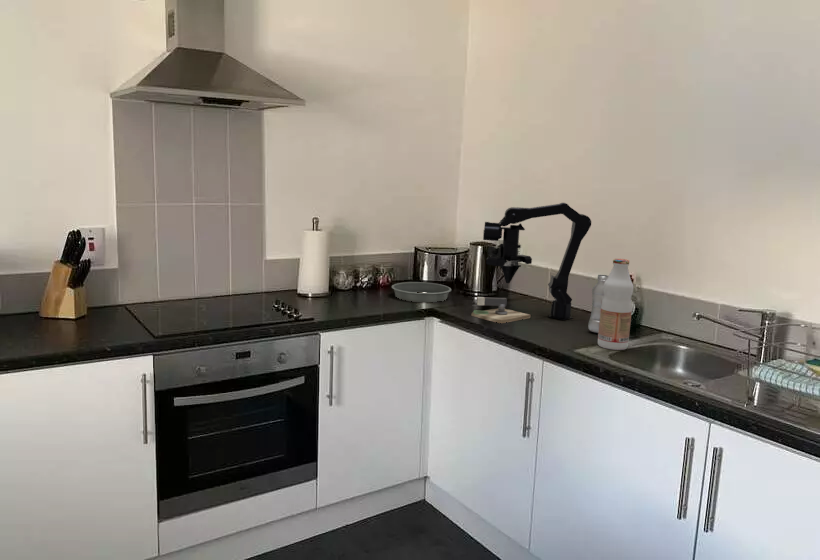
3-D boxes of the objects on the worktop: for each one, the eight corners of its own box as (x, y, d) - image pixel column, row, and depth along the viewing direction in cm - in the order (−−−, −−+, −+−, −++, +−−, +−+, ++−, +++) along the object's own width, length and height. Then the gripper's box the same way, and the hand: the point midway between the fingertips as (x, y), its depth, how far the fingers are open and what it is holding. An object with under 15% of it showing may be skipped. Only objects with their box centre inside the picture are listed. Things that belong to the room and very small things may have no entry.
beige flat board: (530, 318, 254) (530, 312, 254) (499, 323, 242) (499, 318, 242) (496, 309, 266) (497, 304, 266) (465, 314, 254) (466, 309, 254)
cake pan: (392, 290, 295) (392, 280, 295) (449, 293, 295) (449, 283, 295) (390, 302, 271) (390, 291, 270) (452, 305, 271) (452, 294, 270)
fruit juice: (597, 348, 216) (605, 260, 211) (597, 341, 225) (605, 256, 220) (628, 351, 213) (637, 262, 209) (627, 344, 222) (636, 259, 218)
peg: (504, 309, 254) (505, 297, 254) (506, 310, 252) (507, 299, 251) (476, 308, 254) (477, 296, 253) (477, 310, 251) (478, 298, 250)
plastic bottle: (592, 329, 241) (598, 273, 238) (610, 333, 237) (616, 276, 233) (584, 332, 236) (589, 275, 233) (603, 336, 232) (608, 277, 229)
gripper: (512, 238, 266) (509, 278, 268) (477, 239, 254) (474, 281, 257) (534, 241, 257) (531, 282, 260) (498, 243, 246) (495, 286, 248)
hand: (507, 283), depth 256 cm, fingers closed
